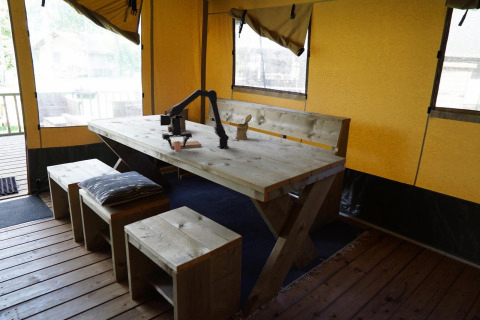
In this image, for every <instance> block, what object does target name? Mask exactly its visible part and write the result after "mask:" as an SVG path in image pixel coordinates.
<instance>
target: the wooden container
mask: <svg viewBox="0 0 480 320" xmlns="http://www.w3.org/2000/svg"><path fill="white" fill-rule="evenodd" d="M176 104H177V103H176ZM176 104H174V105H176ZM171 108H172V107H170V108H167V109H166V115H169V113H170V112H171ZM180 114H181V115H182V116H183V117H184V118H181V133H184V132H187V131H186V130H187V128H186V126H187V125H186V110H185V108H184V110H183V111H182V112H181V113H180ZM180 114H179V115H180ZM179 115H175V116H179ZM175 116H174V117H175ZM168 128H172V119H171V124H169V125H167V129H168Z"/></svg>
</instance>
